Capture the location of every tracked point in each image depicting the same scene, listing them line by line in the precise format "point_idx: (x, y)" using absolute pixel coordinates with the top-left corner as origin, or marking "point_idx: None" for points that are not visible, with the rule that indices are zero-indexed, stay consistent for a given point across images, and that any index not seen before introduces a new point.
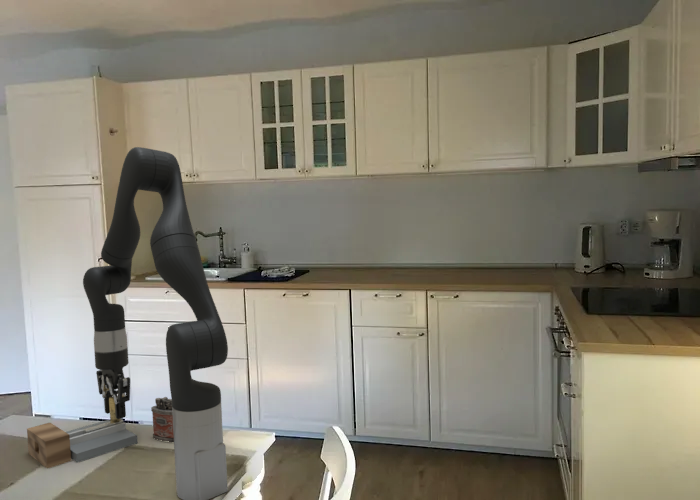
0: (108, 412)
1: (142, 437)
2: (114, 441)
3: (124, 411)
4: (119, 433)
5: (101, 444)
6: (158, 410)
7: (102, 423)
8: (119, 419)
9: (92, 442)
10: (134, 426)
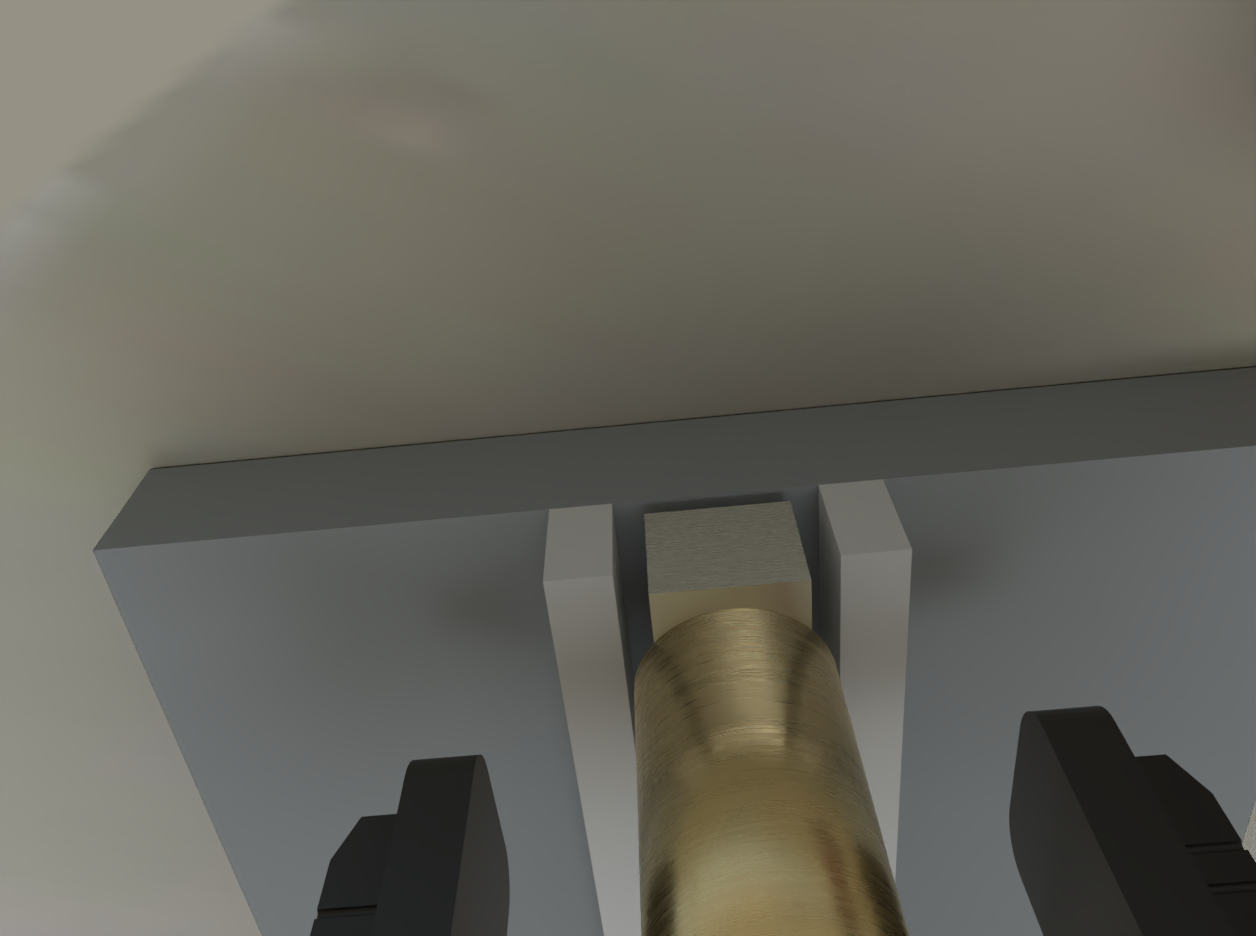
0: (506, 859)
1: (1115, 206)
2: (1248, 746)
3: (1244, 861)
4: (996, 613)
5: None
6: None
7: (248, 662)
8: (838, 681)
9: (994, 919)
10: (397, 99)
